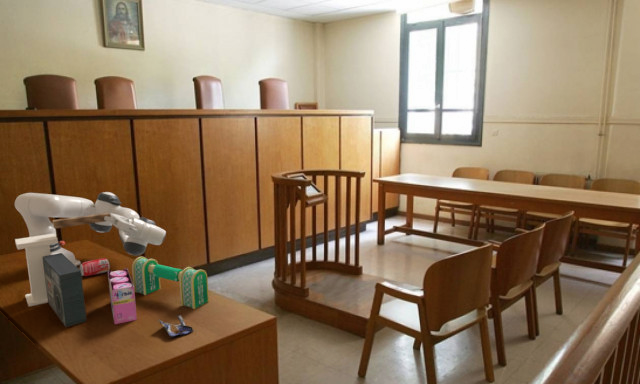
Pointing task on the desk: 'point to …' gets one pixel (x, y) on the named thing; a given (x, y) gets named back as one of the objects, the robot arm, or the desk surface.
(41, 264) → the stand
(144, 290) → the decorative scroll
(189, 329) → the snack package
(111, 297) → the gum box
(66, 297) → the cassette player
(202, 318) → the desk surface
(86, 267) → the soda can
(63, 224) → the brown block
